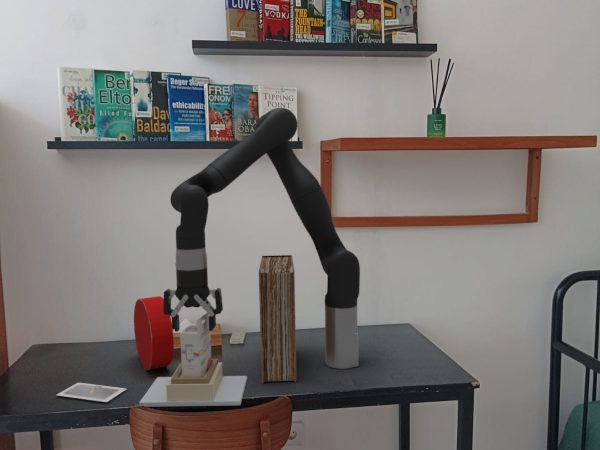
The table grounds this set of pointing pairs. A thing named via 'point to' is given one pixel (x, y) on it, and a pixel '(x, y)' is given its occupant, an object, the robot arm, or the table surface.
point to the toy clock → (153, 333)
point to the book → (277, 318)
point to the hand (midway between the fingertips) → (194, 330)
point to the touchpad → (92, 392)
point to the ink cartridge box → (196, 348)
